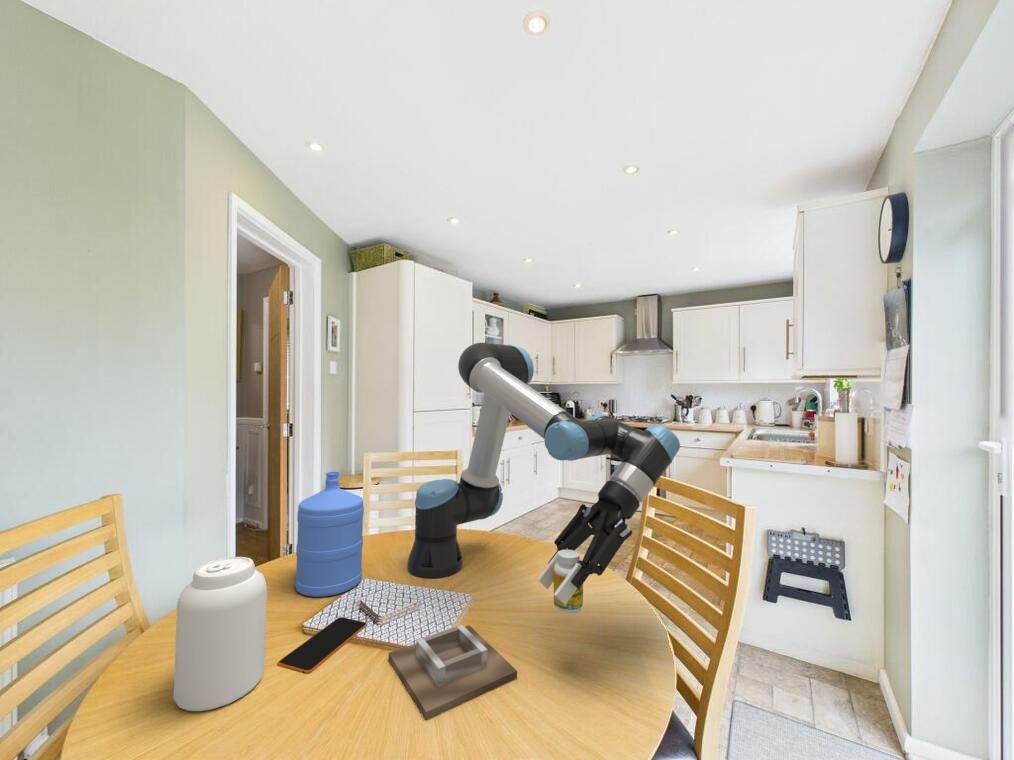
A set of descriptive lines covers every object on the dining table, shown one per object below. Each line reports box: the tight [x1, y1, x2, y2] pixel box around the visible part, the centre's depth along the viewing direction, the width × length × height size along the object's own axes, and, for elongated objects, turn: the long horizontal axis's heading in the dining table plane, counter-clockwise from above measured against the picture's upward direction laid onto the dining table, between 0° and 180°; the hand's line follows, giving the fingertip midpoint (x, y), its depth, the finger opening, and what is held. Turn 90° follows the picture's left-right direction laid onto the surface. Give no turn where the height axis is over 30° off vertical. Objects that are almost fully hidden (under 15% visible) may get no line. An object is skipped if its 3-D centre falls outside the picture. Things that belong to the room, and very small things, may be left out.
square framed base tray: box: [387, 624, 518, 721], centre depth 75 cm, size 17×17×4 cm
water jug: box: [294, 471, 365, 598], centre depth 107 cm, size 16×16×28 cm
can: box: [173, 556, 268, 712], centre depth 70 cm, size 12×12×20 cm
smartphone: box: [277, 616, 368, 675], centre depth 82 cm, size 8×17×1 cm, turn 162°
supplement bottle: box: [553, 550, 584, 614], centre depth 77 cm, size 5×5×10 cm
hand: (550, 591), depth 75 cm, fingers closed on supplement bottle, 5 cm apart
